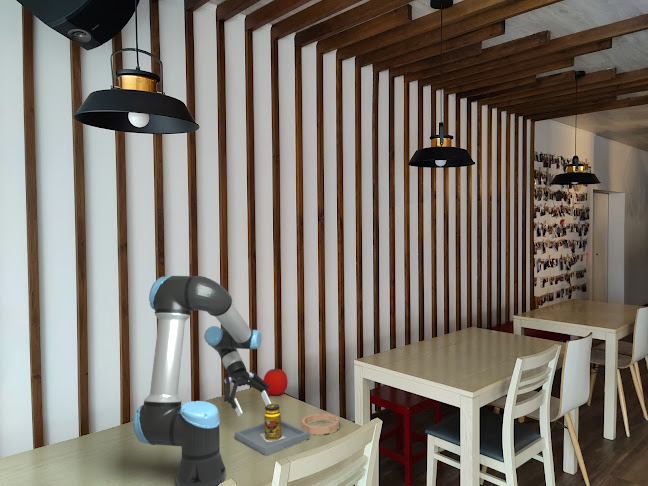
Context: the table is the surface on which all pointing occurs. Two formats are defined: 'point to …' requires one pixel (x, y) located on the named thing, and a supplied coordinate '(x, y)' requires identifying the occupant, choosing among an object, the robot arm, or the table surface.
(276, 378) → the tomato
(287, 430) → the tray
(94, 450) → the table surface
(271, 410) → the condiment
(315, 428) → the ring holder
